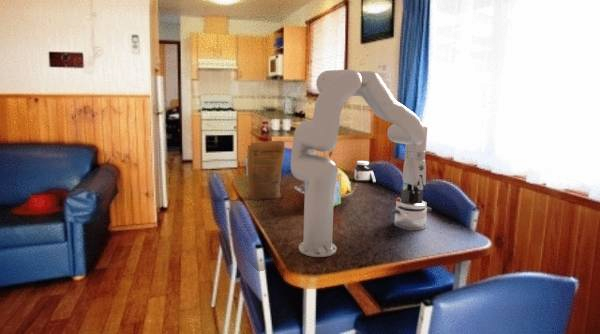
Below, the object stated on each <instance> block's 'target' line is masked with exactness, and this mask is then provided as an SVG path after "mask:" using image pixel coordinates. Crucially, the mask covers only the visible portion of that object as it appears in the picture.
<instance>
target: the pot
mask: <svg viewBox="0 0 600 334" xmlns="http://www.w3.org/2000/svg"><path fill="white" fill-rule="evenodd" d="M432 210H433V208H432V207H430V206H427V207H426V208H424V209H406V208H402V207H399V206H397V205H396V204H395V208H391V209H389V212H390V213H391V214H394V226H395V227H396V226H397V228H398V227H399V228H398V229H401V228H402V229H401V230H405V229H406V231H413V230H416V231H422V230H421V229H423V230H425V229H426V225H427V212H432ZM424 228H425V229H424Z"/></svg>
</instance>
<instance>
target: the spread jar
mask: <svg viewBox="0 0 600 334" xmlns="http://www.w3.org/2000/svg"><path fill="white" fill-rule="evenodd" d="M369 164H370V161H367V160H357V161H356V165H355V166H354V181H356V182H357V183H361V182H363V183H368V182H370V180H371V179H372V183H376V182H377V181H376V177H375V173H374V170H371V167H370V165H369Z"/></svg>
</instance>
